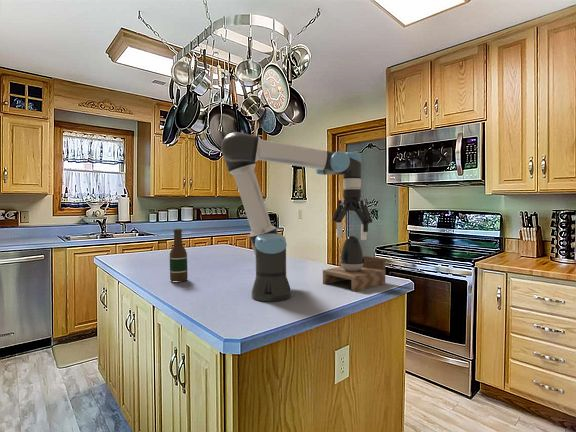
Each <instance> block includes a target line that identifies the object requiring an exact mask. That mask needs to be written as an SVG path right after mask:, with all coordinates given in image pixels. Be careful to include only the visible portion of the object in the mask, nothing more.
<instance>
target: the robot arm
mask: <svg viewBox="0 0 576 432" xmlns="http://www.w3.org/2000/svg"><path fill="white" fill-rule="evenodd" d="M220 148H221V149H220V150H221V153H222V157H223V159H224V162H225V165H226V168H227V171H228V174H230V175H232V176H233V178H234V181H235V185H236V188H237V190H238V193H239V196H240V200H241V202H242V205H243V208H244V212H245V215H246V219H247V221H248V223H249V224H248V225H249V226H250V233H249V238H250V242H251V245H252V248H253V253H254V255H255V278H254V279H255V280H254V282H253V286H252V289H251V298H252V299H253V300H256V301H259V302H281V301H286V300H287V299H290V298H291V297H292V289H291V286H290V285H291V284H290V283H289V281H288V276H287V239H286V237H285V236H284V235H282V234H279V233H278V229H277V226H274V225H272V223H271V220H270V216H269V214H268V213H269V212H268V210H267V208H266V204H265V201H264V198H263V193H262V191H261V188H260V185H259V182H258V178H257V175H256V172H255V167H256V166H257V164H256V162H258V161H264V162H270V163H277V164H282V165H291V166H295V167H301V168H302V167H303V168H308V169H315V173H316V174H317V175H323V176H325V175H328V176H333V175H337V176H339V175H341V176H343V178H342V179H343V181H342V183H343V185H342V188H343V190H342V197H343V199H339V200H338V202H337V207H336V209H335V212H334V214H333V217H332V221H333V222H335V223H336V226H335V228H336V238H343V231H344V229H343V228H344V227H343V226H344V223H343V220H344V218H345V217H346V215H347V214H348V212H349V211H351V212H353V211H354V212H355V213H356V214H357V217H358V218H359V220H360V221H361V224H360V225H361V227H360V240H361V241H366V240H367V236H368V235H367V234H368V231H369V224H372V223H373V219H372V217H371V214H370V211H369V208H368V205H367V200H366V199H365V200H363V199H362V200H361V197H362V190H361V188H362V164H363V162H362V154H361V153H360V152H358V151H346V152H344V151H339V150H338V151H330V150H325V149H320V148H319V149H317V148H314V147H313V148H312V147H306V146H301V145H295V144H290V143H289V144H288V143H283V142H277V141H271V140H264V139H262V138H261V137H260V136H258V135H253V134H249V133H244V132H240V131H239V132H238V131H233V132H231V133H228V134H227V135H225V136H224V138H223V139H222V142H221V145H220Z"/></svg>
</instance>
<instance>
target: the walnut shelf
mask: <svg viewBox="0 0 576 432" xmlns="http://www.w3.org/2000/svg"><path fill="white" fill-rule="evenodd" d="M347 280H351V281H350V282H351V286H350V287H351V292H353V293H354V292H359V291H362V290H367V289H370V288H375V287H378V286H382V285H386V258H383V257H378V256H377V257H375V256H371V255H364V263H363V267H362V268H361V269H360V270H359V271H354V272H351V271H346V270H345V269H344V268H343V267H342V266H337V267H333V268H332V267H331V268H326V269H322V284H323V285H329V284H333V283H337V282H343V281H347Z"/></svg>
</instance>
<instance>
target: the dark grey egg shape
mask: <svg viewBox="0 0 576 432" xmlns="http://www.w3.org/2000/svg"><path fill="white" fill-rule="evenodd" d="M362 247H363V246H362V244H361V242H360V240H359V238H358V237H357V236H355V235H353V234H352V235H348V236H347V237H346V238H345V239H344V243H343V245H342V248H341V253H340V259H339V262H340V265H341V267H343V268H344V269H345V270H346V271H351V272H354V271H359V270H360V269H361V268H362V267H363V263H364V256H365V255H364V251H363V248H362Z"/></svg>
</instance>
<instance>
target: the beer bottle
mask: <svg viewBox="0 0 576 432" xmlns="http://www.w3.org/2000/svg"><path fill="white" fill-rule="evenodd" d="M182 232H183V229H181V228H174V229H173V247H172V248H171V250H170V252H169V278H170V280H171V281H184V282H186V281H188V273H189V272H188V253H187V251H186V250H187V249H186V248H185V247H184V245H183V237H182ZM185 280H186V281H185ZM171 281H170V282H171Z"/></svg>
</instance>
